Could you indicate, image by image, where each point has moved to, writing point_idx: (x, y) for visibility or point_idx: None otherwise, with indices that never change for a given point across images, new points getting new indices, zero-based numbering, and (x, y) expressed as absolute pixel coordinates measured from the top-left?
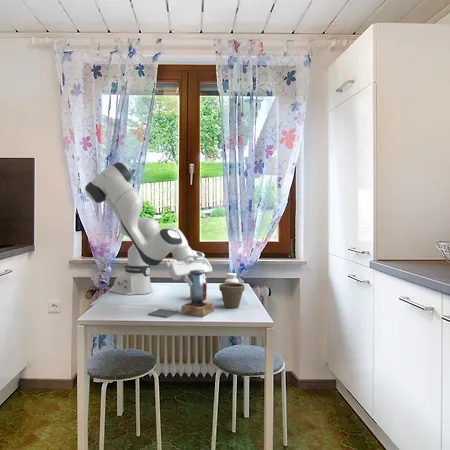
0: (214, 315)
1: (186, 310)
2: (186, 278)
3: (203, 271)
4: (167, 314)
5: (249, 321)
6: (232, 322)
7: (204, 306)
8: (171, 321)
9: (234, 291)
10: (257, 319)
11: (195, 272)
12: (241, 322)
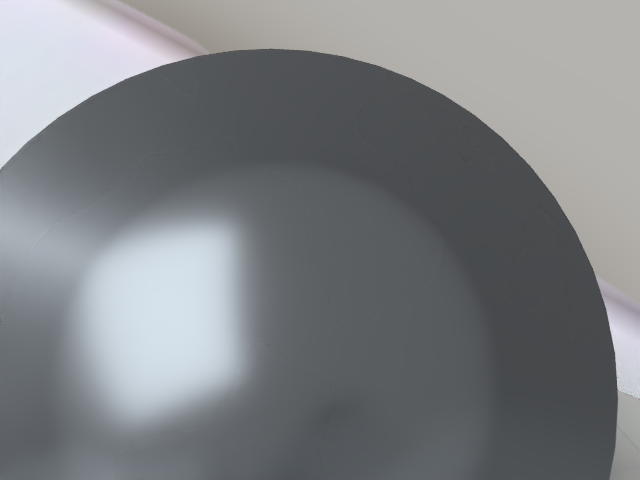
0: None
1: None
2: (637, 412)
3: (149, 71)
4: None
5: (91, 15)
6: (205, 52)
7: None
8: (605, 289)
9: None
10: (6, 20)
11: (482, 148)
12: (153, 25)
